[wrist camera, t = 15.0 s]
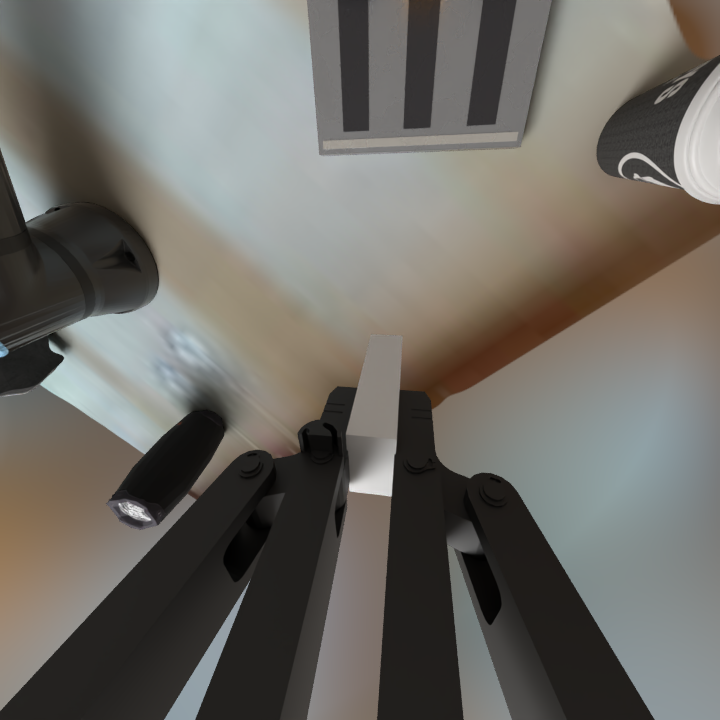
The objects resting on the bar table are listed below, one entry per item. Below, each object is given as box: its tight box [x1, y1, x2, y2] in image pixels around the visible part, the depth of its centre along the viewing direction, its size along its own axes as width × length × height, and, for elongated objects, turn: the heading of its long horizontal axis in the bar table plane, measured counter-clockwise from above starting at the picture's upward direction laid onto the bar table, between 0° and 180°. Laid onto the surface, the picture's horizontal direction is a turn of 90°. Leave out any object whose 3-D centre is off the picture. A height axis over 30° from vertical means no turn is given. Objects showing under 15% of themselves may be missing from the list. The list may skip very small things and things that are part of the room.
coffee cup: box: [597, 55, 720, 204], centre depth 22 cm, size 10×10×15 cm
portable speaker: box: [106, 410, 224, 530], centre depth 51 cm, size 9×9×20 cm
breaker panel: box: [307, 0, 552, 156], centre depth 24 cm, size 20×18×7 cm
